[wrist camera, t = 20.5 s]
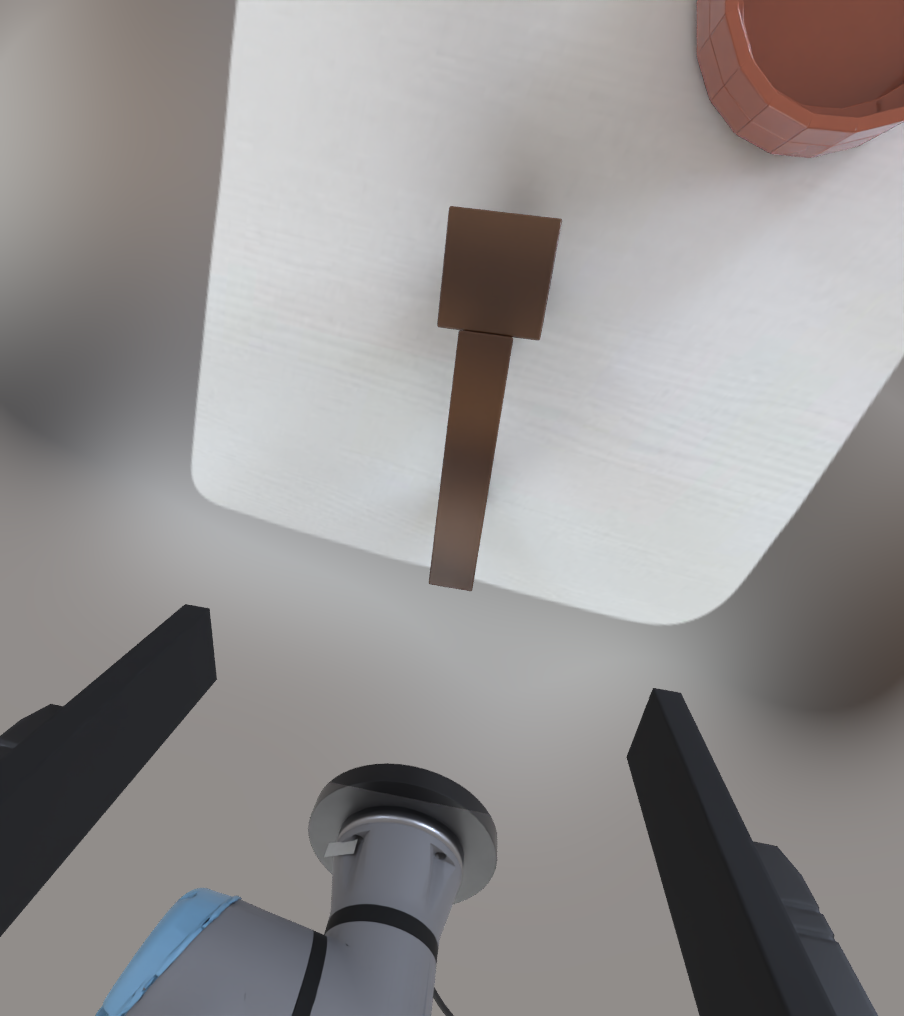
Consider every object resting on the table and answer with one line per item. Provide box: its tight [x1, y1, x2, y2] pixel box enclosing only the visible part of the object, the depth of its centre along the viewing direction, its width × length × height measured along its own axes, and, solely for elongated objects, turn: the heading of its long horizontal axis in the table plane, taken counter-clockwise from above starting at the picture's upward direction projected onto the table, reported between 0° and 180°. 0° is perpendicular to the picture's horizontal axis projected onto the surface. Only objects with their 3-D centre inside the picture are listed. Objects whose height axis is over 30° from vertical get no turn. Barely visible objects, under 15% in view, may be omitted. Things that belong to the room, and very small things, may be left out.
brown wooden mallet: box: [429, 206, 562, 591], centre depth 26 cm, size 18×5×12 cm, turn 173°
